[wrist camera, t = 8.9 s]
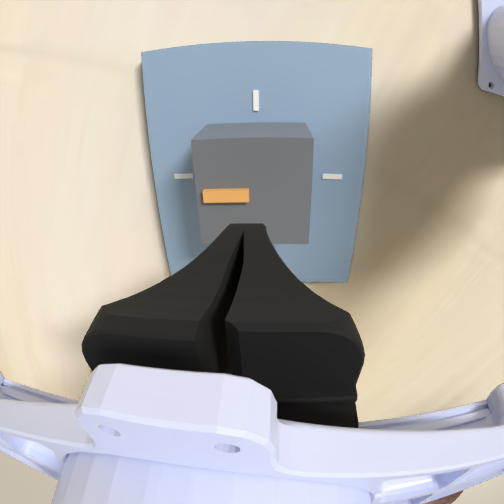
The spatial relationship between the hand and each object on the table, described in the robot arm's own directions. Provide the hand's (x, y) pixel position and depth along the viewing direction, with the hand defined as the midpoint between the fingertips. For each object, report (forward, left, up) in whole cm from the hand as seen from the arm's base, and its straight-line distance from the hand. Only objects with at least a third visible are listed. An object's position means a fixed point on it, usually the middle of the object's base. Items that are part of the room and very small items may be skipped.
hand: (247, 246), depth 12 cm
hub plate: (0, 0, -9) cm, 9 cm away
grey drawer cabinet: (0, 0, -8) cm, 8 cm away
